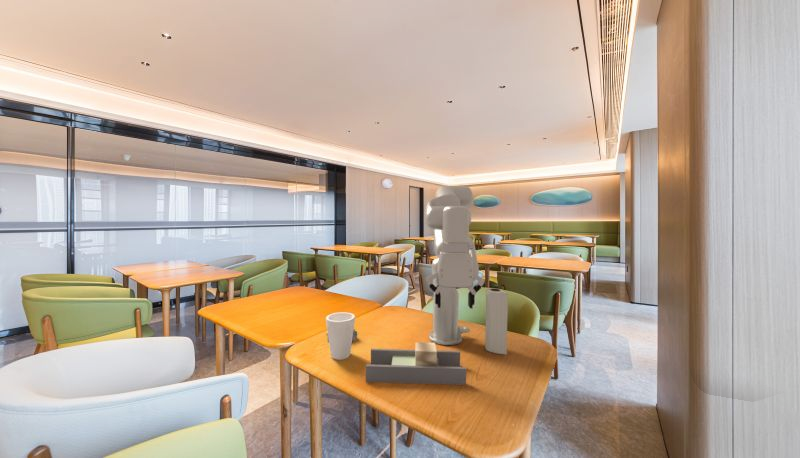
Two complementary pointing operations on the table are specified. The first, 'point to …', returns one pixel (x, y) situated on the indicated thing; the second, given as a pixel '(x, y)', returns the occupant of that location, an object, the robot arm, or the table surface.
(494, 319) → the paper towel roll
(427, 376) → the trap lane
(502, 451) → the table surface
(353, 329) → the egg carton
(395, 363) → the pad
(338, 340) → the foam cup
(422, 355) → the maple block
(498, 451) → the table surface
